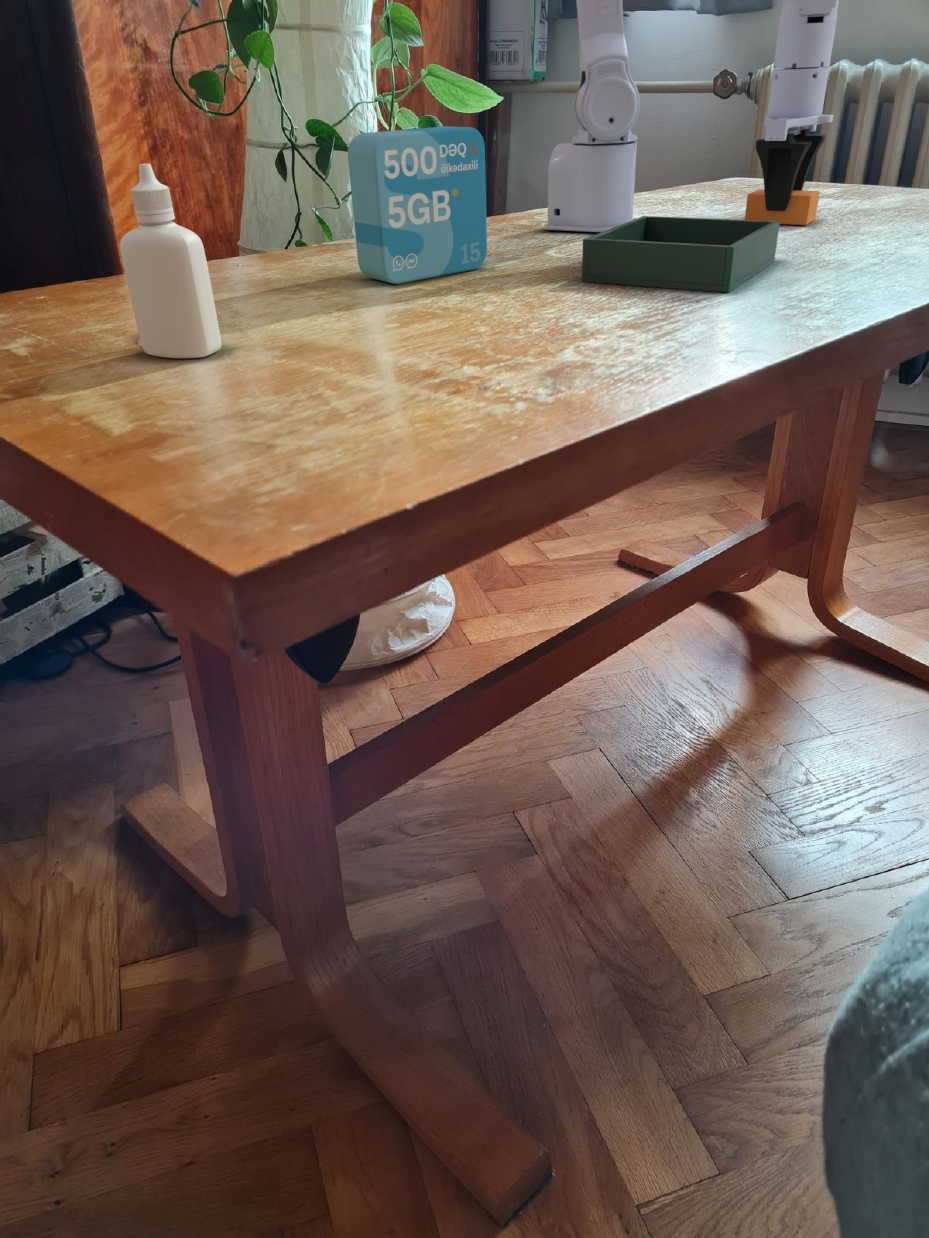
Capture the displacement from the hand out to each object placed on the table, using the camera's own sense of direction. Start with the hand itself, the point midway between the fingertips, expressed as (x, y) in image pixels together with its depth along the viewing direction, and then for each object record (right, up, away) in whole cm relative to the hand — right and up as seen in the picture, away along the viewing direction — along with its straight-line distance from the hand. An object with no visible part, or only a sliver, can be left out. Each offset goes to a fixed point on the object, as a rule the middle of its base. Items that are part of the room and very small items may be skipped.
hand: (781, 207), depth 102 cm
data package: (-40, -15, -17) cm, 46 cm away
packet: (0, -1, +1) cm, 1 cm away
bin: (-17, -16, -21) cm, 31 cm away
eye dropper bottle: (-57, -28, -38) cm, 74 cm away
